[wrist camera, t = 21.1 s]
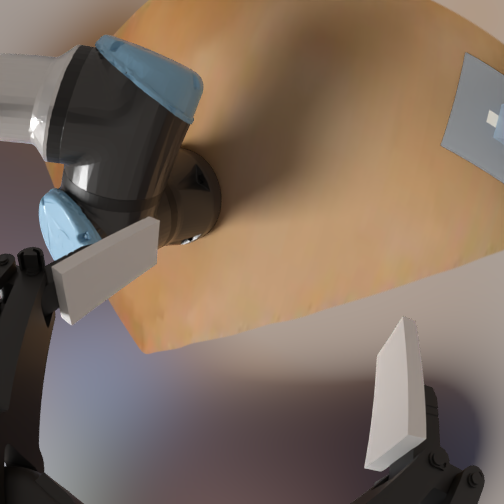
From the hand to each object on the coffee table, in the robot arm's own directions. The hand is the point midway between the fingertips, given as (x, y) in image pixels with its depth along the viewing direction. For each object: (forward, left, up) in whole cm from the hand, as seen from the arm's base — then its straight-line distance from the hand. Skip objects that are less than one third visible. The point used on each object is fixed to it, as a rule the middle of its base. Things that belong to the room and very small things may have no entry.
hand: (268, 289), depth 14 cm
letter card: (+20, +18, -26) cm, 38 cm away
